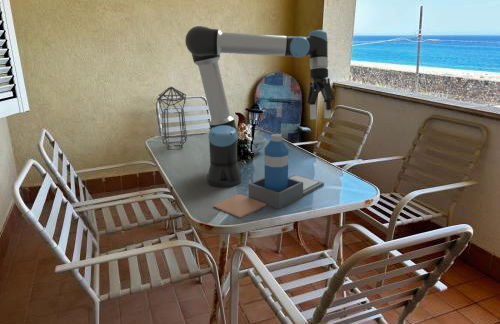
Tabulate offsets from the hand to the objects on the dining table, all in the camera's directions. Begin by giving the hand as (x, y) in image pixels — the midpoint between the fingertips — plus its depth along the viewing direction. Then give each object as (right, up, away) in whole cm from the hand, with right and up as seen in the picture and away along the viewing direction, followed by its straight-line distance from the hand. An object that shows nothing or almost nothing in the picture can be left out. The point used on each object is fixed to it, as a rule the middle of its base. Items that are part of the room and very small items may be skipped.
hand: (320, 118), depth 156 cm
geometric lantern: (-74, -11, +53) cm, 92 cm away
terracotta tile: (-34, -35, -23) cm, 54 cm away
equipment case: (-15, -31, -10) cm, 36 cm away
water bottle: (-20, -33, -15) cm, 41 cm away
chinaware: (-29, -14, +43) cm, 54 cm away
